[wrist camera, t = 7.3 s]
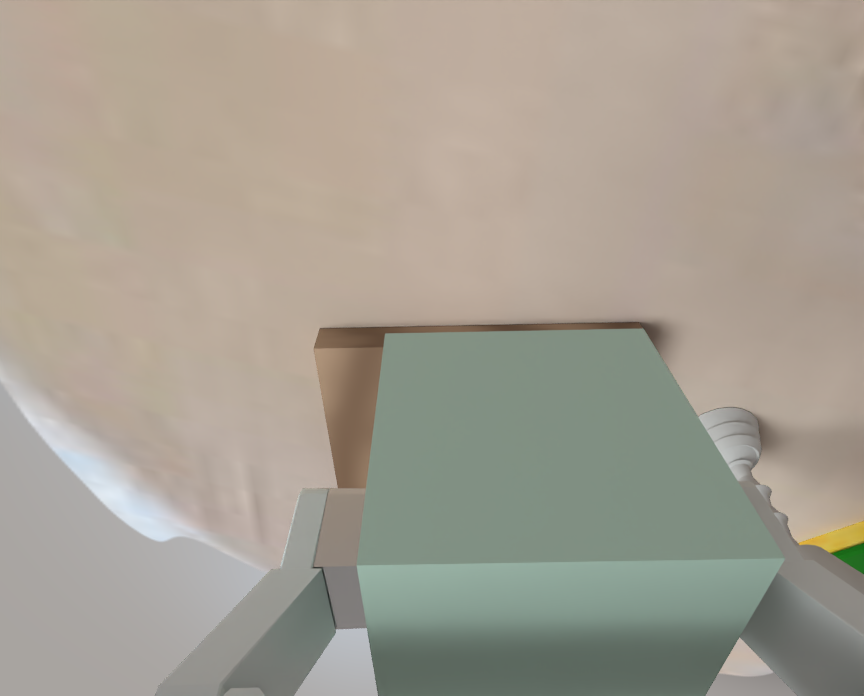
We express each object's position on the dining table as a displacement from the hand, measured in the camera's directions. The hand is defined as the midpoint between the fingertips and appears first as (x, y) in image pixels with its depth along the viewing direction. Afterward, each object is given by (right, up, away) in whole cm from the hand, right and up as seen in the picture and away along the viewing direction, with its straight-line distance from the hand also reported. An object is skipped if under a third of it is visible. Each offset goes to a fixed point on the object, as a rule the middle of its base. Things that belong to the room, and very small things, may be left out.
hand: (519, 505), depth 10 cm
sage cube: (0, +1, +2) cm, 2 cm away
